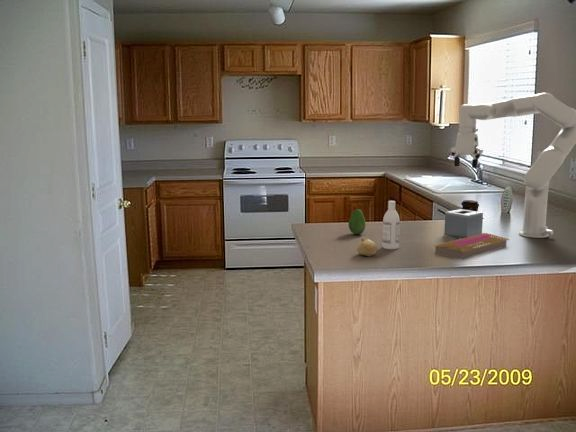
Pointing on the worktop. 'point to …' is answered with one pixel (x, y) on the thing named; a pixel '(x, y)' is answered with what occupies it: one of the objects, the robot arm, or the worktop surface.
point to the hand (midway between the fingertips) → (465, 166)
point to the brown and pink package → (464, 251)
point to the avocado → (357, 222)
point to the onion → (366, 247)
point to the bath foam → (391, 227)
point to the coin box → (463, 223)
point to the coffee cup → (470, 205)
